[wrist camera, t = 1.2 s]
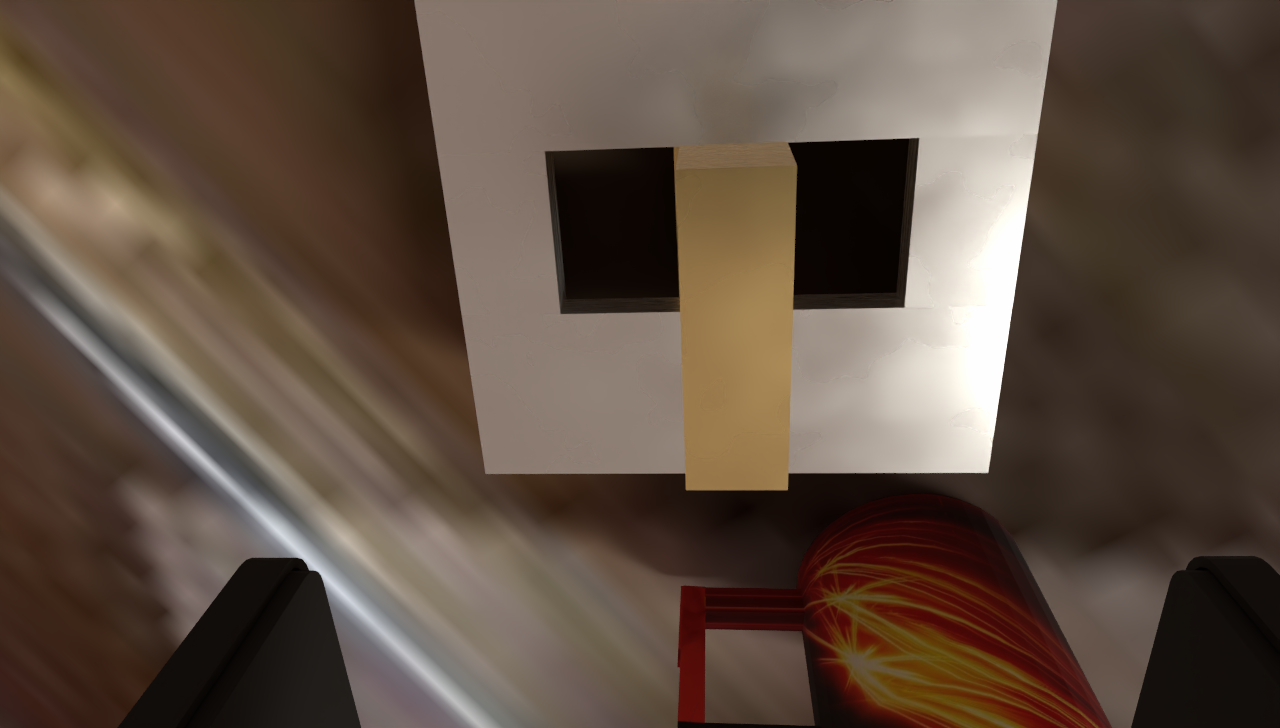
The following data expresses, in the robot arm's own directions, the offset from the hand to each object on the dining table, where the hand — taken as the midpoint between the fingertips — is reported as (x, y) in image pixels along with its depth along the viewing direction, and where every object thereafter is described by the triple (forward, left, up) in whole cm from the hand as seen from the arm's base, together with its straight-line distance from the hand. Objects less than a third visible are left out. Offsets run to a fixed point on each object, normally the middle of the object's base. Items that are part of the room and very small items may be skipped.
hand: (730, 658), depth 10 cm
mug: (-6, +19, -23) cm, 30 cm away
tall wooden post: (0, 0, -23) cm, 23 cm away
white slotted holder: (0, 0, -23) cm, 23 cm away
